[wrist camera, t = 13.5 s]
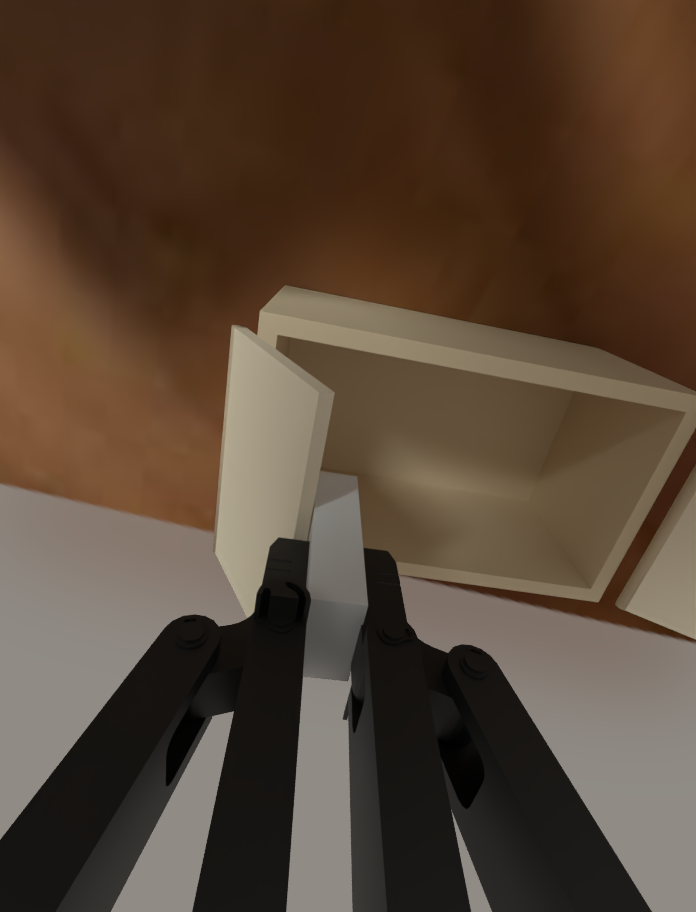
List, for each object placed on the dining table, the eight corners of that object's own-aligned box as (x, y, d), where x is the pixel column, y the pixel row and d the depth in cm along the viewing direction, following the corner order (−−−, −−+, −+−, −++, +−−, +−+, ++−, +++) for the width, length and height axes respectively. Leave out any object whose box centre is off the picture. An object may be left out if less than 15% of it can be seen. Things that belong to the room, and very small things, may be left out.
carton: (262, 464, 33) (233, 552, 24) (285, 285, 27) (259, 310, 18) (529, 507, 35) (597, 603, 26) (597, 347, 30) (711, 398, 21)
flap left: (244, 325, 18) (336, 392, 13) (223, 545, 23) (284, 662, 18) (229, 324, 18) (317, 392, 13) (211, 547, 23) (270, 667, 17)
